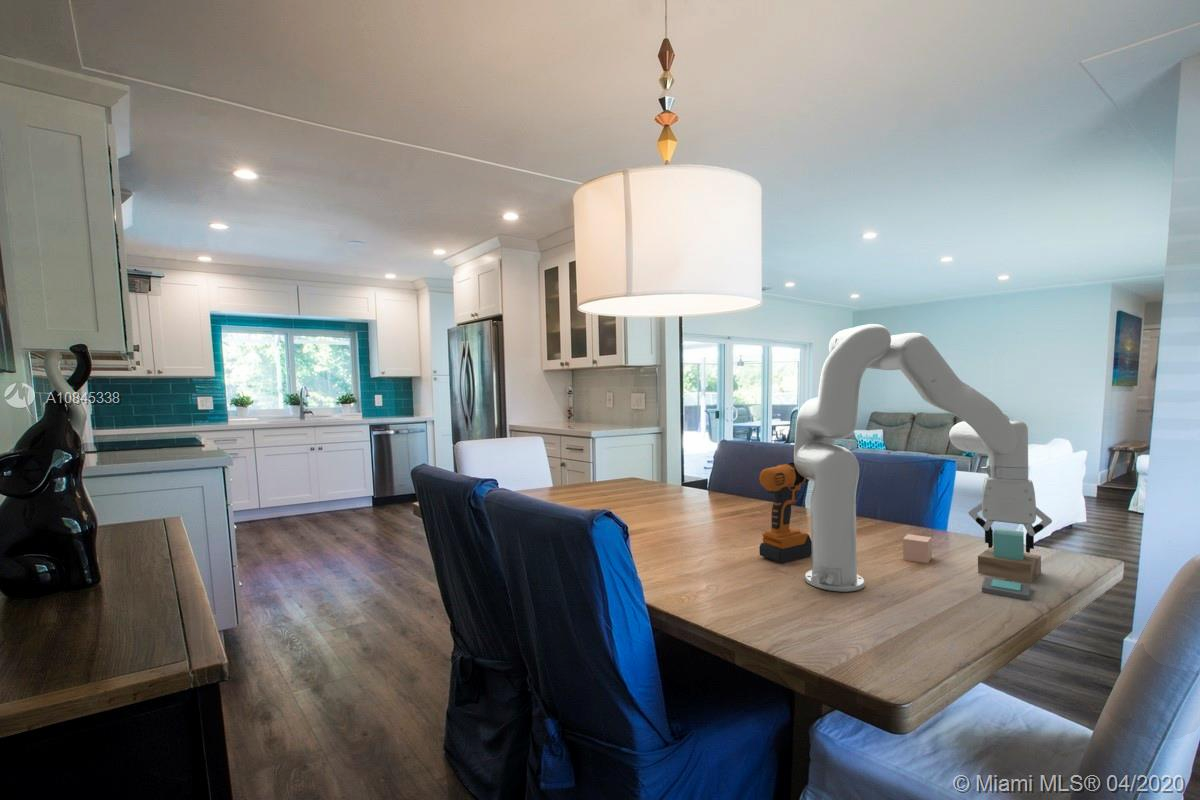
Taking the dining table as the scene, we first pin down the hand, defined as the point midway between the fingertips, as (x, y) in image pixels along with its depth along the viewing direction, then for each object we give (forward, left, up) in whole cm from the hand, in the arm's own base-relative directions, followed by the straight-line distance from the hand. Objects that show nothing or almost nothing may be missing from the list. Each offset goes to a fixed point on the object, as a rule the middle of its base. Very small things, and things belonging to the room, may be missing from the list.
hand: (1009, 548), depth 129 cm
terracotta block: (0, +19, -6) cm, 20 cm away
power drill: (-15, +46, -6) cm, 49 cm away
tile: (-14, 0, -6) cm, 15 cm away
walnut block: (0, 0, -6) cm, 6 cm away
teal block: (0, 0, -2) cm, 2 cm away
